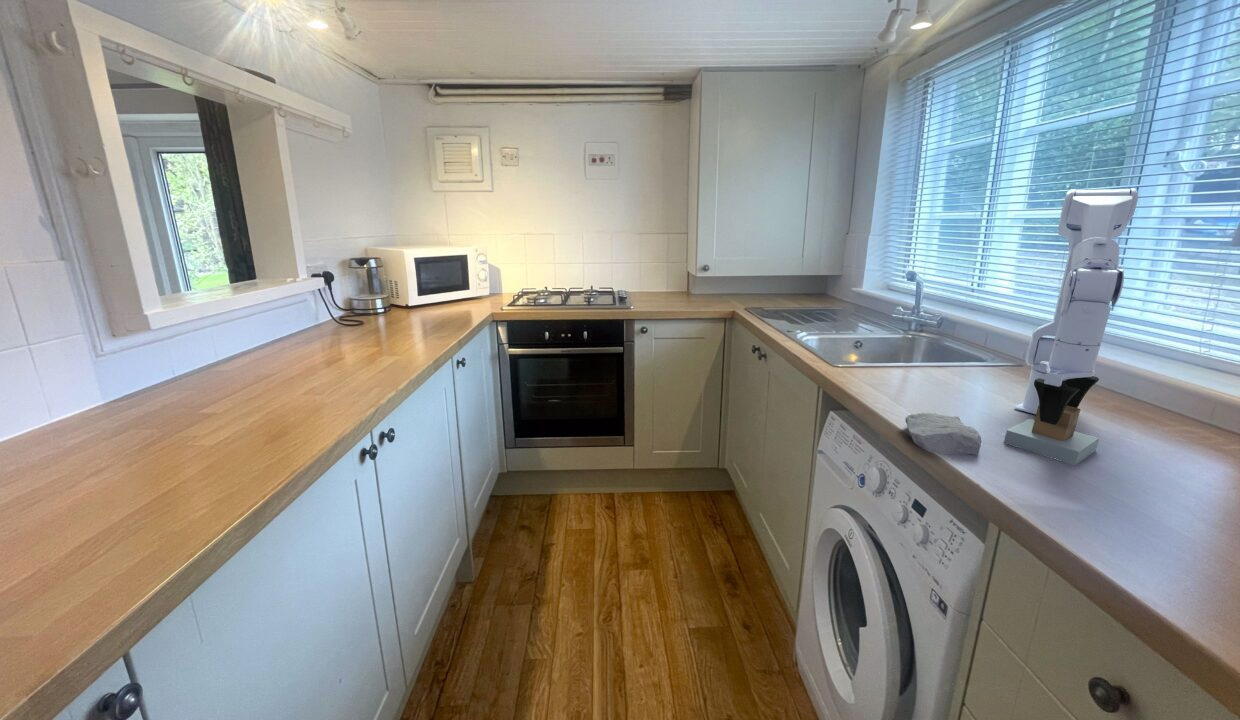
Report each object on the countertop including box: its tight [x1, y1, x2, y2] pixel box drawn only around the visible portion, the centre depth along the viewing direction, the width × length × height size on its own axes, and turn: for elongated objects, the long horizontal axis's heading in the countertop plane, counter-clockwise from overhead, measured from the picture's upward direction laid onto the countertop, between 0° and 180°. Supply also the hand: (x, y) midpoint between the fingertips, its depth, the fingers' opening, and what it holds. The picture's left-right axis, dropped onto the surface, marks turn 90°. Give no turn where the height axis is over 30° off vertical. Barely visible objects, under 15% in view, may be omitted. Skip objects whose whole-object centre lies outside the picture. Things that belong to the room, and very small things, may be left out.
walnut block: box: [1032, 406, 1082, 442], centre depth 86 cm, size 4×4×5 cm
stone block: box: [904, 412, 982, 456], centre depth 90 cm, size 12×5×10 cm
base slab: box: [1003, 418, 1100, 466], centre depth 88 cm, size 10×10×3 cm
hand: (1056, 418), depth 86 cm, fingers open, 7 cm apart
